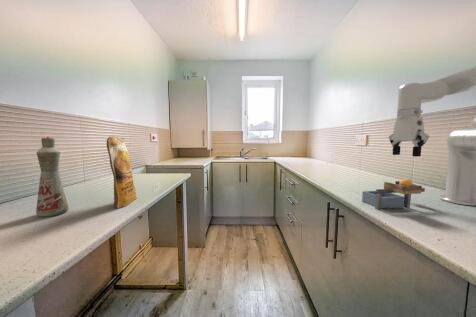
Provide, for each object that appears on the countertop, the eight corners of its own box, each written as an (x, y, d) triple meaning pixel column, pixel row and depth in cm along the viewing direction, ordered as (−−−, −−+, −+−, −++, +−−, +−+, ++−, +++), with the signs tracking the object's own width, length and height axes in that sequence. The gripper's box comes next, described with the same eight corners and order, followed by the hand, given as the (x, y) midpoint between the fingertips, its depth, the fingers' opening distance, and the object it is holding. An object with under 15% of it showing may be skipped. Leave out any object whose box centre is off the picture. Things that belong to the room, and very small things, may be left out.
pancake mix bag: (103, 210, 77) (98, 136, 74) (126, 196, 96) (123, 137, 93) (122, 209, 77) (118, 136, 75) (141, 196, 96) (138, 137, 94)
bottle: (75, 210, 77) (69, 136, 74) (46, 219, 68) (39, 136, 66) (59, 208, 79) (53, 136, 77) (30, 216, 71) (22, 136, 68)
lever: (448, 196, 72) (449, 184, 72) (394, 199, 70) (395, 186, 69) (403, 185, 90) (403, 176, 89) (358, 187, 87) (359, 177, 87)
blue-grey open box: (403, 208, 79) (404, 196, 79) (381, 209, 78) (381, 197, 77) (382, 200, 89) (382, 190, 88) (362, 201, 88) (362, 191, 87)
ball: (405, 187, 75) (406, 177, 74) (415, 189, 71) (415, 179, 71) (396, 187, 74) (397, 178, 74) (405, 190, 71) (406, 180, 70)
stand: (409, 208, 79) (411, 193, 78) (378, 209, 77) (379, 194, 76) (406, 206, 80) (407, 192, 80) (374, 208, 79) (375, 193, 78)
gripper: (439, 111, 77) (435, 157, 78) (397, 116, 94) (395, 154, 95) (421, 111, 76) (418, 157, 77) (383, 116, 93) (381, 154, 94)
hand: (405, 155), depth 86 cm, fingers open, 8 cm apart
